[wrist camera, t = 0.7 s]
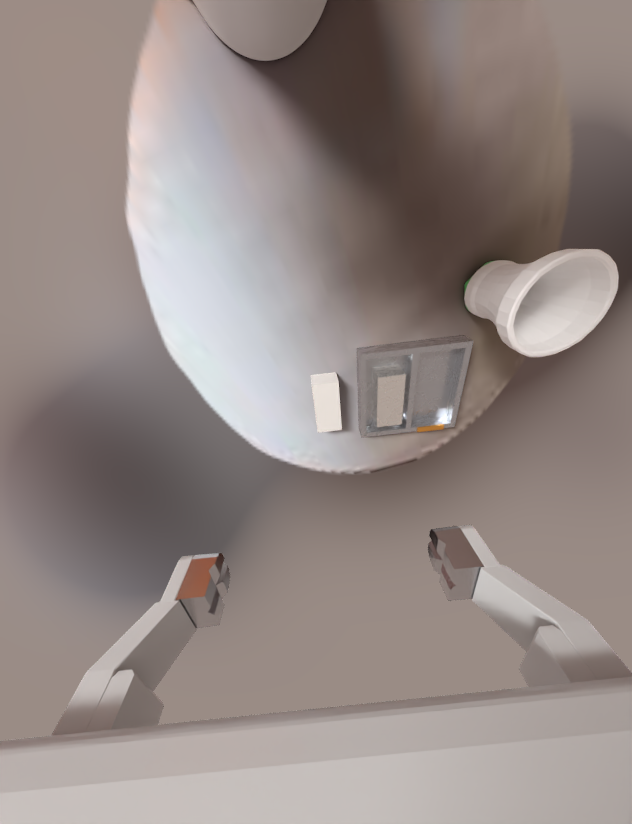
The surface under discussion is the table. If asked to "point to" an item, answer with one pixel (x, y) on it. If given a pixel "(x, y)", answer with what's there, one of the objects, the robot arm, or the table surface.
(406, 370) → the tray
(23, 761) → the robot arm
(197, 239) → the table surface
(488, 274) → the cup
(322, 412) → the white rectangular block
